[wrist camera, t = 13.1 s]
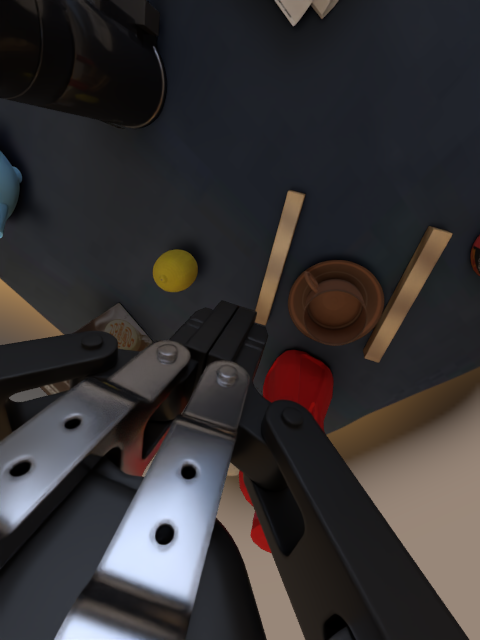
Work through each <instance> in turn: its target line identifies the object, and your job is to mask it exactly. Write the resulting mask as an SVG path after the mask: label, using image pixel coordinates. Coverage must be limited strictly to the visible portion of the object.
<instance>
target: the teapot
mask: <svg viewBox="0 0 480 640" xmlns="http://www.w3.org/2000/svg"><path fill="white" fill-rule="evenodd" d="M21 181H22V175H21V173H20V171H19V170H18V169H17V168H16V167H12V165H11V164H10V162H9V161H8V160H7V158H6V157H5V156H4V154H3V153H2V152H1V151H0V238H2V236H3V232H4V228H5V223H6V221H7V219H8V218H9V217H10V216H11V214H12V212H13V211H14V209H15V207H16V204H17V201H18V197H19V191H20V185H19V183H21Z"/></svg>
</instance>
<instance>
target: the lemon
mask: <svg viewBox="0 0 480 640" xmlns="http://www.w3.org/2000/svg"><path fill="white" fill-rule="evenodd" d="M197 273H198V266H197V263H196V260H195V259H194V257H193V256H192V255H191V254H189V253H188V252H186V251H184V250H178V249H175V250H170V251H167V252H166V253H164V254H162V255H161V256H160V257H159V258H158V259H157V261H156V262H155V264H154V267H153V277H154V280H155V282H156V283H157V285H158V286H159V287H160V288H162V289H163V290H165V291H169V292H178V291H182V290H184V289H186V288H188V287H189V286H190V285H191V284H192V283H193V282H194V281H195V279H196V277H197Z"/></svg>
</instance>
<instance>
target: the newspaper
mask: <svg viewBox="0 0 480 640" xmlns="http://www.w3.org/2000/svg"><path fill="white" fill-rule="evenodd" d="M338 1H339V0H275V2H276V3H277V5H278V6H279V7H280V9H281V10H282V12H283V13H284V15H285V16H286V17H287V19H288V20H289V22H290V23H291V24H292V26H294V25H296V24H297V22H298V21H299V20H300V18H301V17H302V16H303V14H304V13H305V12H306V10H307V9H308V7H309V6H310V5H311V6H312V7H313V9H314V10H315V11H316V12H317V14H318V15H319V16H320V17H321V19H323V18H324V17H325V16H326V15H327V13H328V12H329V11H330V10H331V9H332V8H333V7H334V6H335V4H336V3H337V2H338Z"/></svg>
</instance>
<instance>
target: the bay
mask: <svg viewBox="0 0 480 640" xmlns="http://www.w3.org/2000/svg"><path fill="white" fill-rule="evenodd" d="M305 196H306V194H304V193H300V192H296V191H292V190H289V191H288V193H287V197H286V201H285V204H284V208H283V212H282V215H281V219H280V223H279V226H278V230H277V234H276V237H275V241H274V245H273V248H272V252H271V256H270V259H269V263H268V267H267V270H266V274H265V278H264V281H263V285H262V289H261V292H260V296H259V300H258V303H257V307H256V312H257V316H256V320H255V322H256V323H259V324H262V325H266V323H267V321H268V318H269V315H270V311H271V308H272V305H273V302H274V298H275V295H276V292H277V288H278V285H279V282H280V278H281V275H282V272H283V269H284V265H285V262H286V259H287V255H288V252H289V249H290V245H291V242H292V239H293V235H294V232H295V229H296V226H297V222H298V219H299V216H300V212H301V209H302V206H303V202H304V199H305ZM451 236H452V233H450V232H448V231H446V230H443V229H439V228H435V227H431V226H428V228H427V230H426V232H425V234H424V236H423V238H422V240H421V242H420V243H419V245H418V247H417V249H416V251H415V253H414V255H413V257H412V259H411V260H410V262H409V264H408V266H407V268H406V270H405V272H404V274H403V276H402V278H401V279H400V281H399V283H398V285H397V287H396V289H395V291H394V293H393V295H392V296H391V298H390V300H389V302H388V304H387V306H386V308H385V310H384V312H383V314H382V315H381V317H380V319H379V321H378V323H377V325H376V327H375V329H374V331H373V332H372V334H371V336H370V338H369V340H368V342H367V344H366V346H365V348H364V350H363V353H364V358H366V359H369V360H372V361H375V362H378V363H379V361H380V359H381V358H382V356H383V354H384V352H385V351H386V349H387V347H388V345H389V344H390V342H391V340H392V339H393V337H394V335H395V333H396V332H397V330H398V328H399V326H400V325H401V323H402V321H403V319H404V318H405V316H406V314H407V312H408V311H409V309H410V307H411V306H412V304H413V302H414V300H415V299H416V297H417V295H418V293H419V292H420V290H421V288H422V286H423V285H424V283H425V281H426V280H427V278H428V276H429V274H430V273H431V271H432V269H433V267H434V266H435V264H436V262H437V260H438V259H439V257H440V255H441V254H442V252H443V250H444V248H445V247H446V245H447V243H448V241H449V240H450V238H451Z"/></svg>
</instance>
